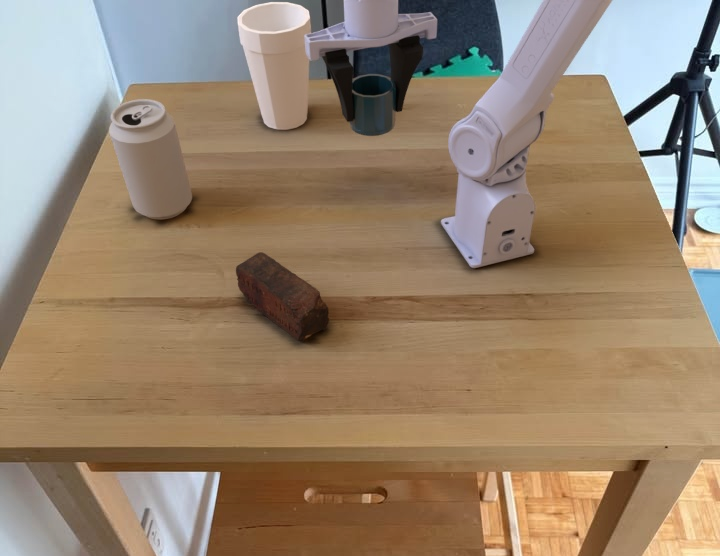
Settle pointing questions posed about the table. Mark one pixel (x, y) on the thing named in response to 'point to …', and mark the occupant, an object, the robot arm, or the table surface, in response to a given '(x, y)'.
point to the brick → (282, 296)
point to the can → (150, 158)
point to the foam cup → (277, 60)
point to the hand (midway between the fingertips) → (372, 112)
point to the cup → (373, 104)
